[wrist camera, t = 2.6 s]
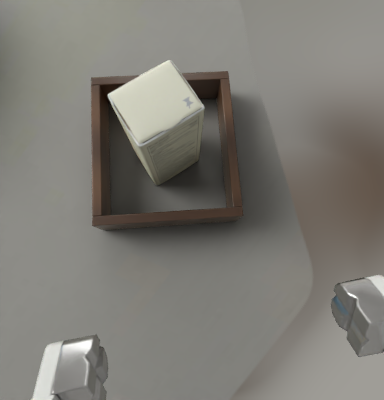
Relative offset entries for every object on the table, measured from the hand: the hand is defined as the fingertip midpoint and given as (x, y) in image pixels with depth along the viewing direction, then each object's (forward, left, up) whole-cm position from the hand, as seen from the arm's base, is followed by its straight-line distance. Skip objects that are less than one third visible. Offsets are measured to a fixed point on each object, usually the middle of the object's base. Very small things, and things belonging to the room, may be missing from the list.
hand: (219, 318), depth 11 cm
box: (+12, +2, -18) cm, 22 cm away
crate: (+12, +2, -18) cm, 22 cm away
